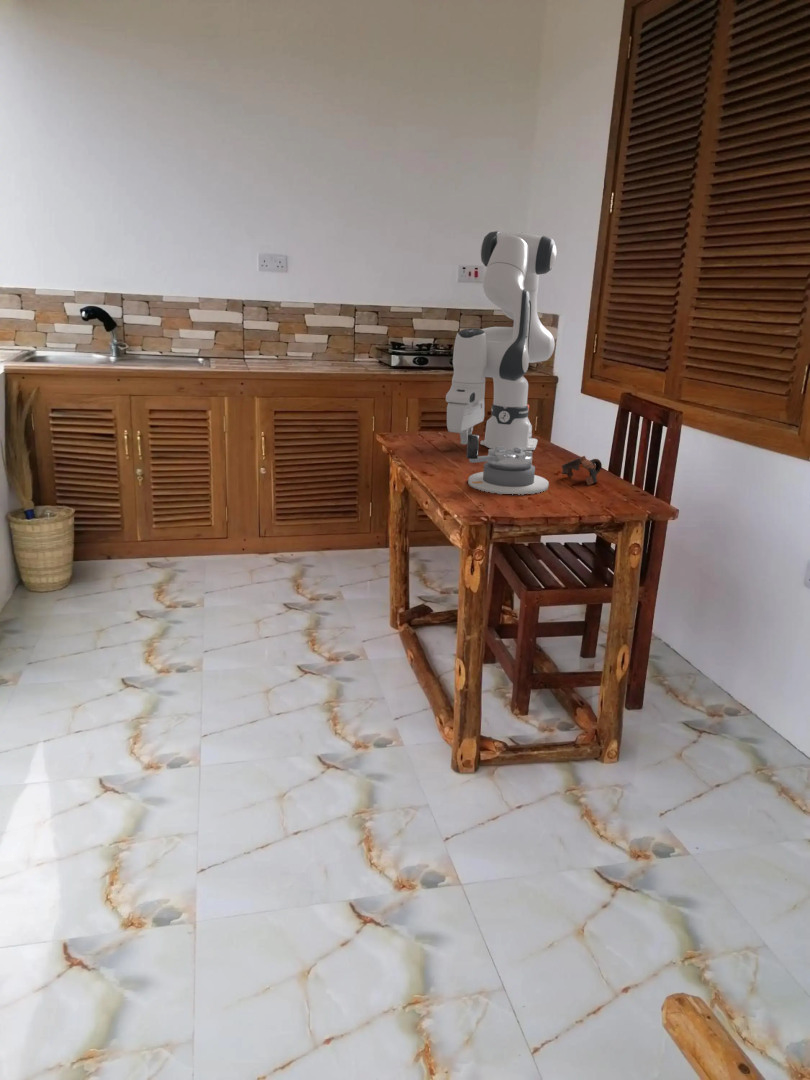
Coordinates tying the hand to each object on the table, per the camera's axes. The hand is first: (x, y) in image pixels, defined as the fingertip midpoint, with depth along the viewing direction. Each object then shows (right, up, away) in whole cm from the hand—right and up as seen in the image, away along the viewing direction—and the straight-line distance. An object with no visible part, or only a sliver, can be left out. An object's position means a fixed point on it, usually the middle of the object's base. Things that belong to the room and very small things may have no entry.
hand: (465, 443), depth 218 cm
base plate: (+12, -11, +4) cm, 17 cm away
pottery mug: (+34, -10, +11) cm, 37 cm away
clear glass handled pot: (+9, -6, +1) cm, 11 cm away
